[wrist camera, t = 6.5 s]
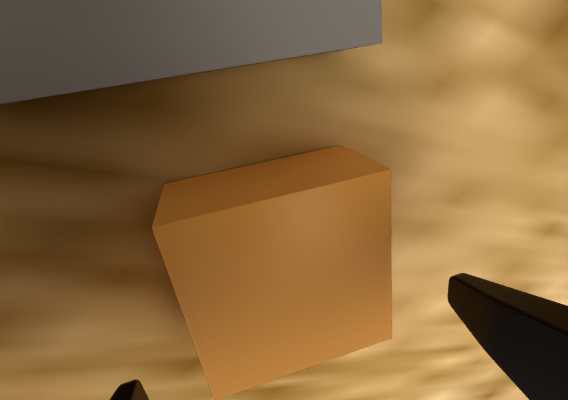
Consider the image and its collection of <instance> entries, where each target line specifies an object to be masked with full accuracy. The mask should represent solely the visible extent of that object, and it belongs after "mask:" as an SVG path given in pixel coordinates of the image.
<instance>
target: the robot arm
mask: <svg viewBox="0 0 568 400" xmlns="http://www.w3.org/2000/svg"><path fill="white" fill-rule="evenodd" d="M448 302H449V304H450V306H451V307H452V308H453V310H454V311H455V312H456V314H457V315H458V316H459V318H460V319H461V320H462V322H463V323H464V324H465V325H466V327H467V328H468V329H469V331H470V332H471V333H472V335H473V336H474V337H475V339H476V340H477V341H478V343H479V344H480V345H481V346H482V347H483V349H484V350H485V351H486V352H487V353H488V355H489V356H490V357H491V358H492V359H493V360H494V361H495V362H496V364H497V365H498V366H499V367H500V368H501V369H502V370H503V371H504V372H505V373H506V375H507V376H508V377H509V378H510V379H511V380H512V381H513V382H514V383H515V384H516V386H517V387H518V388H519V389H520V390H521V391H522V392H523V393H524V394H525V395H526V397H527V398H528V399H529V400H568V306H566V305H563V304H560V303H557V302H554V301H551V300H548V299H544V298H541V297H538V296H535V295H532V294H529V293H526V292H522V291H519V290H516V289H513V288H510V287H507V286H504V285H500V284H497V283H494V282H491V281H488V280H485V279H481V278H478V277H475V276H472V275H469V274H466V273H460V274H457V275H454V276H451V277H450V279H449V285H448ZM110 400H149V399H148V397H147V395H146V392H145V390H144V388H143V386H142V384H141V382H140V381H139V380H132V381H129V382H126V383H123V384H121V385H120V386H119V387H118V388H117V390H116V391H115V393H114V394H113V395H112V397H111V398H110Z"/></svg>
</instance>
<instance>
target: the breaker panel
mask: <svg viewBox="0 0 568 400" xmlns="http://www.w3.org/2000/svg"><path fill="white" fill-rule="evenodd" d="M380 43H382V26H381V0H0V104H6V103H12V102H19V101H25V100H31V99H37V98H44V97H50V96H56V95H63V94H69V93H75V92H82V91H88V90H94V89H100V88H107V87H113V86H119V85H126V84H132V83H138V82H145V81H151V80H157V79H163V78H170V77H176V76H182V75H189V74H195V73H201V72H208V71H214V70H220V69H226V68H233V67H239V66H245V65H252V64H258V63H264V62H271V61H277V60H283V59H289V58H296V57H302V56H308V55H315V54H321V53H327V52H334V51H340V50H346V49H352V48H357V47H363V46H368V45H374V44H380Z"/></svg>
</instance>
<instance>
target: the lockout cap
mask: <svg viewBox="0 0 568 400" xmlns="http://www.w3.org/2000/svg"><path fill="white" fill-rule="evenodd" d="M152 230H153V233H154V236H155V238H156V241H157V244H158V247H159V249H160V252H161V255H162V258H163V260H164V263H165V266H166V269H167V271H168V274H169V277H170V280H171V282H172V285H173V288H174V291H175V293H176V296H177V299H178V302H179V304H180V307H181V310H182V313H183V316H184V318H185V321H186V324H187V327H188V329H189V332H190V335H191V338H192V340H193V343H194V346H195V349H196V351H197V354H198V357H199V360H200V362H201V365H202V368H203V371H204V373H205V376H206V379H207V382H208V385H209V387H210V390H211V393H212V396H213V398H214V400H218V399H221V398H224V397H227V396H229V395H232V394H235V393H238V392H241V391H244V390H246V389H249V388H252V387H255V386H258V385H261V384H263V383H266V382H269V381H272V380H275V379H278V378H280V377H283V376H286V375H289V374H292V373H295V372H297V371H300V370H303V369H306V368H309V367H312V366H314V365H317V364H320V363H323V362H326V361H329V360H331V359H334V358H337V357H340V356H343V355H346V354H348V353H351V352H354V351H357V350H360V349H363V348H365V347H368V346H371V345H374V344H377V343H380V342H382V341H385V340H388V339H391V338H392V274H391V170H390V169H388V168H386V167H384V166H382V165H380V164H378V163H375V162H373V161H371V160H369V159H367V158H365V157H363V156H361V155H359V154H356V153H354V152H352V151H350V150H348V149H346V148H344V147H342V146H340V145H339V146H334V147H330V148H325V149H321V150H316V151H312V152H307V153H302V154H298V155H293V156H289V157H284V158H280V159H275V160H270V161H266V162H261V163H257V164H252V165H248V166H243V167H239V168H234V169H229V170H225V171H220V172H216V173H211V174H207V175H202V176H197V177H193V178H188V179H184V180H179V181H175V182H170V183H165V184H164V185H163V189H162V193H161V196H160V200H159V203H158V207H157V210H156V214H155V217H154V221H153V224H152Z"/></svg>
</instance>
